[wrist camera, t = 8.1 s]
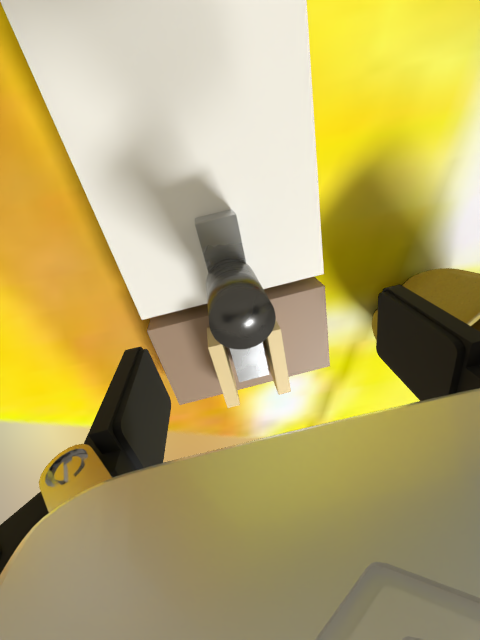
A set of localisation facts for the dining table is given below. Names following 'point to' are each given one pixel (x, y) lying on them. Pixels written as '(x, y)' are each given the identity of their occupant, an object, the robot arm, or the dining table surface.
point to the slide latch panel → (192, 161)
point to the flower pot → (447, 293)
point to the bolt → (234, 295)
